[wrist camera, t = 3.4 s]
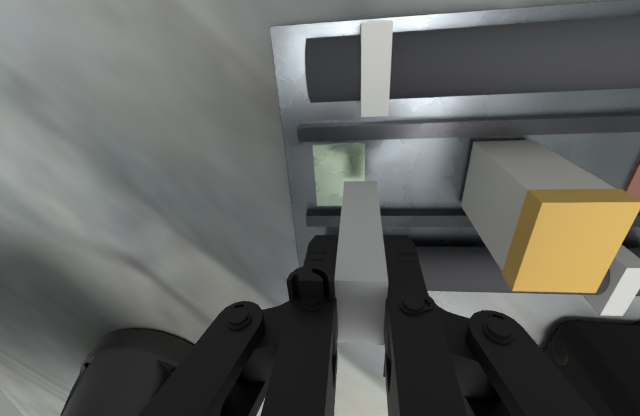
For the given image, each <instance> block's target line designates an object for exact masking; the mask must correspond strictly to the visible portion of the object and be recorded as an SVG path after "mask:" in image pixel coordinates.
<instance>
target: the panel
mask: <svg viewBox="0 0 640 416" xmlns="http://www.w3.org/2000/svg"><path fill="white" fill-rule="evenodd" d="M632 15H640V0H618V1H605V2H592V3H579V4H565V5H552V6H539V7H526V8H513V9H499V10H486V11H473V12H460V13H446V14H433V15H420V16H407V17H394V18H380V19H367V20H354V21H341V22H328V23H314V24H301V25H288V26H275V27H270V32H271V41H272V49H273V57H274V65H275V73H276V81H277V89H278V98H279V106H280V114H281V122H282V130H283V138H284V147H285V155H286V163H287V171H288V179H289V187H290V195H291V204H292V212H293V220H294V228H295V236H296V244H297V252H298V261H299V268H300V267H303V265H304V261H305V257H306V253H307V248H308V244H309V242H310V241H311V240H312V239H313V238H314V236H315V235H339V228H340V218H341V208H342V198H343V188H344V181H377V190H378V198H379V207H380V215H381V224H382V232H383V235H407V236H408V237H409V238H410V239H411V240H412V241H413V242H414V243H415V246H425V247H486V245H485V244H484V242H483V240H482V239H481V237H480V236H479V234H478V232H477V231H476V229H475V228H474V226H473V224H472V223H471V221H470V220H469V218H468V216H467V215H466V213H465V212H464V210H463V208H462V207H461V203H462V198H463V193H464V188H465V182H466V177H467V172H468V167H469V162H470V157H471V151H472V146H473V141H505V140H534V141H536V142H538V143H539V144H541V145H543V146H545V147H546V148H548V149H550V150H551V151H553V152H555V153H556V154H558V155H560V156H562V157H563V158H565V159H567V160H568V161H570V162H572V163H573V164H575V165H577V166H579V167H580V168H582V169H584V170H585V171H587V172H589V173H591V174H592V175H594V176H596V177H597V178H599V179H601V180H602V181H604V182H606V183H608V184H609V185H611V186H613V187H614V188H616V189H622V190H624V191H626V192H627V193H629V194H631V195H632V196H634V197H636V198H638V199H639V200H640V88H629V89H607V90H585V91H563V92H541V93H519V94H497V95H475V96H453V97H431V98H409V99H389V115H388V116H379V117H361V112H360V101H343V102H321V103H310V100H309V97H308V92H307V85H306V74H305V43H306V39H307V38H319V37H333V36H347V35H360V24H361V23H364V22H377V21H391V20H393V32H404V31H419V30H433V29H447V28H461V27H476V26H490V25H504V24H518V23H533V22H547V21H561V20H575V19H590V18H604V17H618V16H632ZM622 245H623V246H624V247H626V248H640V210H639V212H638V214H637V216H636V218H635V220H634V222H633V224H632V225H631V227H630V229H629V231H628V233H627V235H626V237H625V239H624V241H623V242H622Z"/></svg>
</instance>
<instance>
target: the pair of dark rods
mask: <svg viewBox="0 0 640 416" xmlns="http://www.w3.org/2000/svg"><path fill="white" fill-rule="evenodd" d="M305 74H306V85H307V92H308V97H309V100H310V103H321V102H343V101H360V112H361V117H379V116H388V115H389V99H409V98H431V97H453V96H475V95H497V94H519V93H541V92H563V91H585V90H607V89H629V88H640V15H632V16H618V17H604V18H590V19H575V20H561V21H547V22H533V23H518V24H504V25H490V26H476V27H461V28H447V29H433V30H419V31H404V32H393V20H391V21H377V22H364V23H361V24H360V35H347V36H333V37H319V38H307V39H306V43H305ZM415 247H416V251H417V255H418V258H419V263H420V266H421V270H422V274H423V277H424V281H425V285H426V289H427V291H457V292H497V293H537V294H577V295H583V296H584V297H585V299H586V300H587V301H588V302H589V303H590V304H591V305H592V307H593V308H594V309H595V310H596V311H597V312H598V313H599V315H608V316H623V315H624V313H625V312H626V310H627V308H628V307H629V305H630V304H631V302H632V300H633V299H634V297H635V296H640V248H626V247H624V246H623V245H622V244H621V246H620V248H619V250H618V252H617V254H616V256H615V258H614V259H613V261H612V263H611V265H610V267H609V269H608V271H607V273H606V275H605V276H604V278H603V280H602V282H601V284H600V286H599V288H598V290H597V291H596V293H570V292H529V291H512V290H511V289H510V287H509V285H508V284H507V282H506V280H505V279H504V277H503V276H502V271H501V269H500V267H499V266H498V264H497V263H496V261H495V260H494V258H493V256H492V255H491V253H490V252H489V250H488V248H487V247H425V246H415Z"/></svg>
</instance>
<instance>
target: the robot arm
mask: <svg viewBox="0 0 640 416" xmlns="http://www.w3.org/2000/svg"><path fill="white" fill-rule="evenodd" d="M287 287H288V293H289V299H290V300H289V301H288V302H286V303H284V304H282V305H280V306H277V307H273V308H268V309H264V310H261V308H260V307H259V306H258V305H257V304H255V303H253V302H249V301H241V302H237V303H234V304H232V305H230V306H228V307H226V308H225V309H224V310H223V311H222V312H221V313H220V314H219V315H218V316H217V317H216V319H215V320H214V321H213V323H212V324H211V325H210V326H209V328H208V329H207V330H206V331H205V333H204V334H203V335H202V336H201V338H200V339H199V340H198V341H197V343H196V344H195V345H192V344H190V343H188V342H186V341H184V340H182V339H179V338H177V337H174V336H171V335H168V334H165V333H161V332H157V331H152V330H145V329H125V330H119V331H115V332H112V333H110V334H108V335H106V336H105V337H103V338H102V339H101V340H100V341H99V343H98V344H97V345H96V346H95V347H94V349H93V350H92V351H91V352H90V354H89V355H88V356H87V357H86V359H85V360H84V362H83V364H82V367H81V369H80V374H79V376H78V378H77V380H76V382H75V384H74V386H73V388H72V390H71V392H70V395H69V397H68V399H67V401H66V404H65V406H64V408H63V410H62V413H61V415H60V416H256V415H257V413H258V411H259V408H260V406H261V404H262V402H263V400H264V398H265V401H264V405H263V409H262V413H261V416H334V406H335V390H336V374H337V342H340V343H357V344H374V345H384V342H385V361H384V374H383V377H386V390H387V404H388V416H597V414H596V413H595V412H594V411H593V410H592V409H591V407H590V406H589V405H588V404H587V403H586V401H585V400H584V399H583V398H582V397H581V396H580V394H579V393H578V392H577V391H576V390H575V389H574V387H573V386H572V385H571V384H570V383H569V381H568V380H567V379H566V378H565V377H564V376H563V374H562V373H561V372H560V371H559V370H558V368H557V367H556V366H555V365H554V364H553V363H552V361H551V360H550V359H549V358H548V357H547V356H546V354H545V353H544V352H543V351H542V350H541V348H540V347H539V346H538V345H537V344H536V343H535V341H534V340H533V339H532V338H531V337H530V336H529V334H528V333H527V332H526V331H525V330H524V328H523V327H522V326H521V325H519V324H518V323H517V322H516V321H515V320H514V319H512V318H510V317H508V316H507V315H505V314H503V313H499V312H496V311H489V310H482V311H479V312H476V313H474V314H473V315H472V317H471V318H470V319H469V318H466V317H463V316H459V315H456V314H453V313H450V312H447V311H445V310H443V309H442V308H440V307H439V306H437V305H436V304H435V302H434V300H433V299H432V298H431V297H429V295H428V292H427V289H426V285H425V281H424V277H423V274H422V270H421V266H420V263H419V258H418V255H417V251H416V247H415V243H414V242H413V241H412V240H411V239H410V238H409V237H408V236H407V235H383V232H382V224H381V215H380V207H379V198H378V190H377V181H344V188H343V198H342V208H341V218H340V228H339V235H315V236H314V238H313V239H312V240H311V241H310V242H309V244H308V248H307V253H306V257H305V261H304V265H303V267H300V268H298V269H296V270H294V271H293V272H292V273H291V274H290V275H289V277H288V278H287ZM265 396H266V397H265Z"/></svg>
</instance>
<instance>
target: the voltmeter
mask: <svg viewBox="0 0 640 416" xmlns="http://www.w3.org/2000/svg"><path fill="white" fill-rule="evenodd" d="M545 354H546V356H547V357H548V358H549V359H550V360H551V361H552V363H553V364H554V365H555V366H556V367H557V368H558V370H559V371H560V372H561V373H562V374H563V376H564V377H565V378H566V379H567V380H568V381H569V383H570V384H571V385H572V386H573V387H574V389H575V390H576V391H577V392H578V393H579V394H580V396H581V397H582V398H583V399H584V400H585V401H586V403H587V404H588V405H589V406H590V407H591V409H592V410H593V411H594V412H595V413H596V414H597V416H640V322H638V323H636V325H621V324H605V323H589V322H574V321H569V322H567V323H564V324H562V325H561V326H559V328H558V330H557V332H556V333H555V335H554V337H553V339H552V340H551V342H550V344H549V346H548V347H547V349H546V351H545Z"/></svg>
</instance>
